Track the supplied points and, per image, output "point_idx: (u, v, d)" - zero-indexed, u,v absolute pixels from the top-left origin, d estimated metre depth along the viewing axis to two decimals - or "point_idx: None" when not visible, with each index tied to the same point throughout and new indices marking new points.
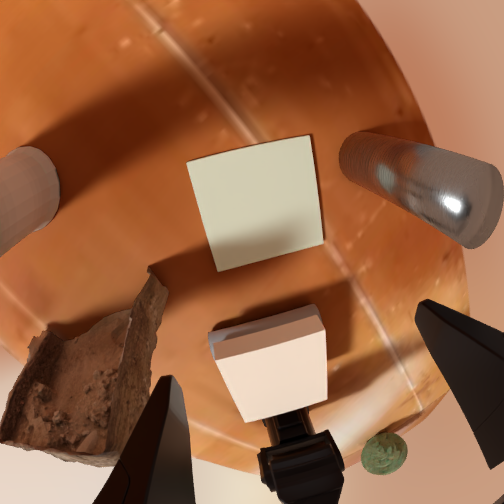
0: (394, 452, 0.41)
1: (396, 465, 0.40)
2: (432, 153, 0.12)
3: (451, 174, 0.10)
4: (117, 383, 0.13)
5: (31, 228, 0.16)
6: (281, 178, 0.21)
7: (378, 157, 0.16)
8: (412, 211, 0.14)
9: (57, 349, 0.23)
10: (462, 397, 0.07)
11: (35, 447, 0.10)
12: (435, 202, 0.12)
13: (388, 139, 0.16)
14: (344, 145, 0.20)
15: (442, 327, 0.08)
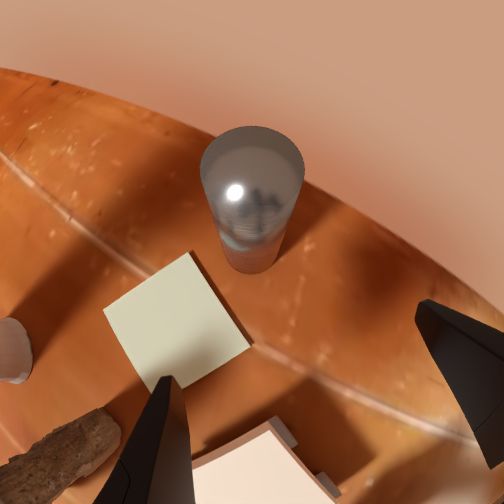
0: None
1: None
2: None
3: None
4: (24, 457, 0.09)
5: (7, 369, 0.17)
6: (178, 298, 0.22)
7: None
8: (237, 240, 0.15)
9: None
10: (462, 397, 0.07)
11: None
12: (210, 205, 0.13)
13: None
14: None
15: (442, 327, 0.08)
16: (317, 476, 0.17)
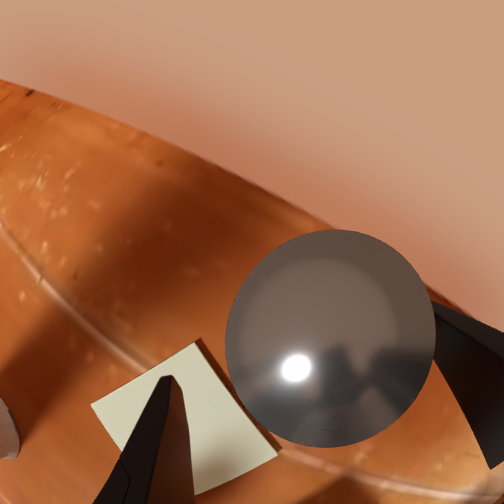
0: None
1: None
2: None
3: None
4: None
5: None
6: (184, 401, 0.16)
7: None
8: None
9: None
10: (462, 397, 0.07)
11: None
12: None
13: None
14: None
15: (442, 327, 0.08)
16: None
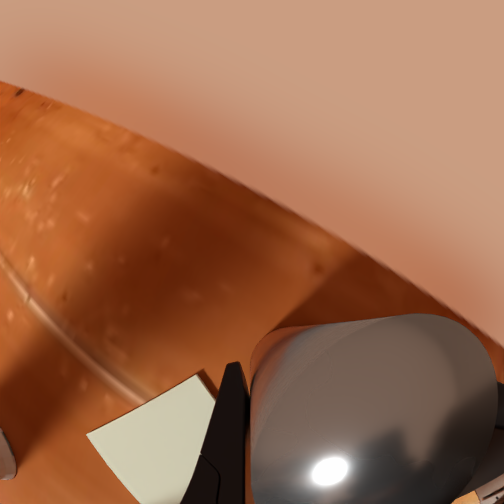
0: None
1: None
2: (267, 364, 0.06)
3: (253, 427, 0.04)
4: None
5: None
6: (186, 435, 0.13)
7: None
8: None
9: None
10: None
11: None
12: None
13: (265, 344, 0.11)
14: None
15: None
16: None
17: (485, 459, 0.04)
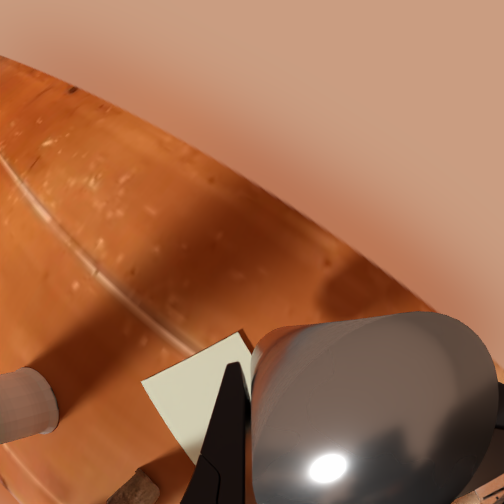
0: None
1: None
2: (268, 362, 0.06)
3: (254, 426, 0.04)
4: None
5: (34, 429, 0.16)
6: None
7: None
8: None
9: None
10: None
11: None
12: None
13: (266, 343, 0.11)
14: (250, 365, 0.15)
15: None
16: None
17: (485, 459, 0.04)
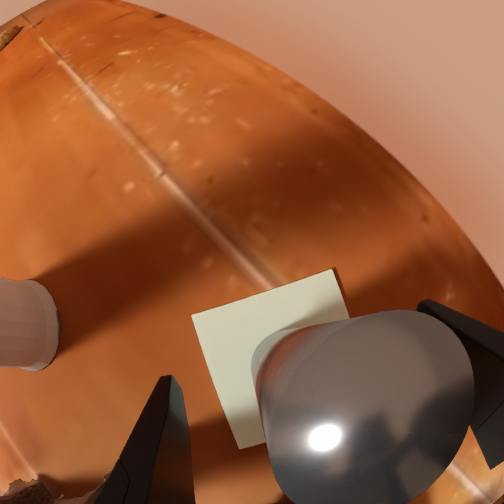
0: None
1: None
2: (274, 357, 0.07)
3: (266, 407, 0.05)
4: None
5: (19, 357, 0.13)
6: None
7: None
8: None
9: (45, 502, 0.11)
10: None
11: None
12: None
13: (267, 344, 0.12)
14: None
15: None
16: None
17: None
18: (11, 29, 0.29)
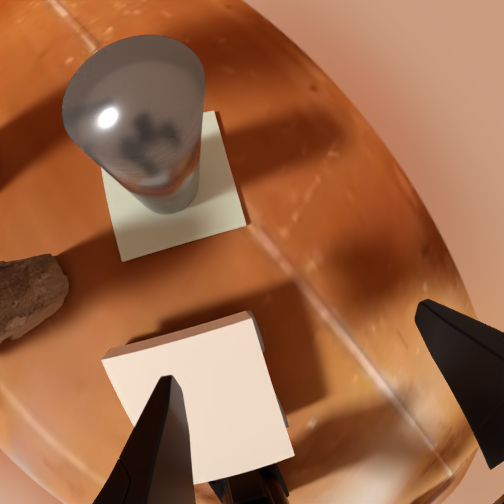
0: None
1: None
2: None
3: None
4: None
5: None
6: None
7: None
8: (124, 184, 0.10)
9: None
10: (462, 397, 0.07)
11: None
12: None
13: None
14: None
15: (442, 327, 0.08)
16: None
17: None
18: None
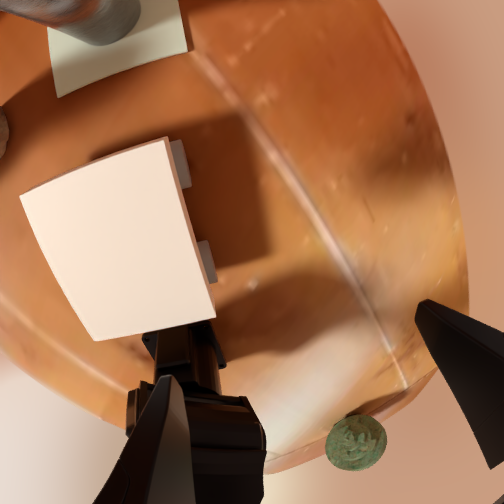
0: (368, 441, 0.34)
1: (371, 459, 0.32)
2: None
3: None
4: None
5: None
6: None
7: None
8: (22, 16, 0.05)
9: None
10: (462, 397, 0.07)
11: None
12: None
13: None
14: None
15: (442, 327, 0.08)
16: (199, 243, 0.19)
17: None
18: None
